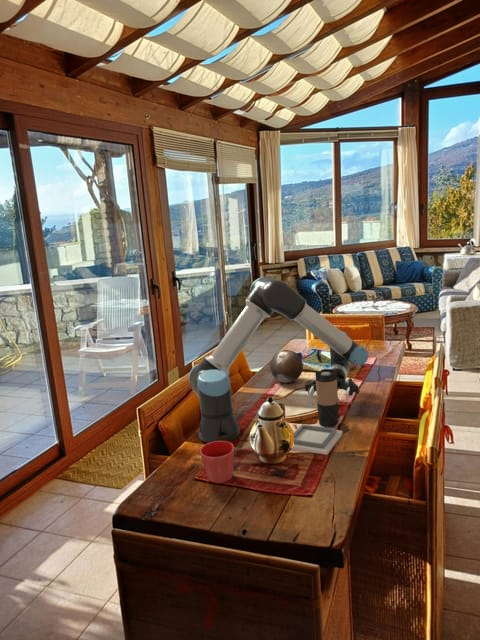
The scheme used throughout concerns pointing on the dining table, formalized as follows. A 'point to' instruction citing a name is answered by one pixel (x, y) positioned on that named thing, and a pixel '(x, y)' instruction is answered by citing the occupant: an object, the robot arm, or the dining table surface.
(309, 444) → the mug stand
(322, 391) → the travel mug
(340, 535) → the dining table surface
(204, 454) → the flower pot
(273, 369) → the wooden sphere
